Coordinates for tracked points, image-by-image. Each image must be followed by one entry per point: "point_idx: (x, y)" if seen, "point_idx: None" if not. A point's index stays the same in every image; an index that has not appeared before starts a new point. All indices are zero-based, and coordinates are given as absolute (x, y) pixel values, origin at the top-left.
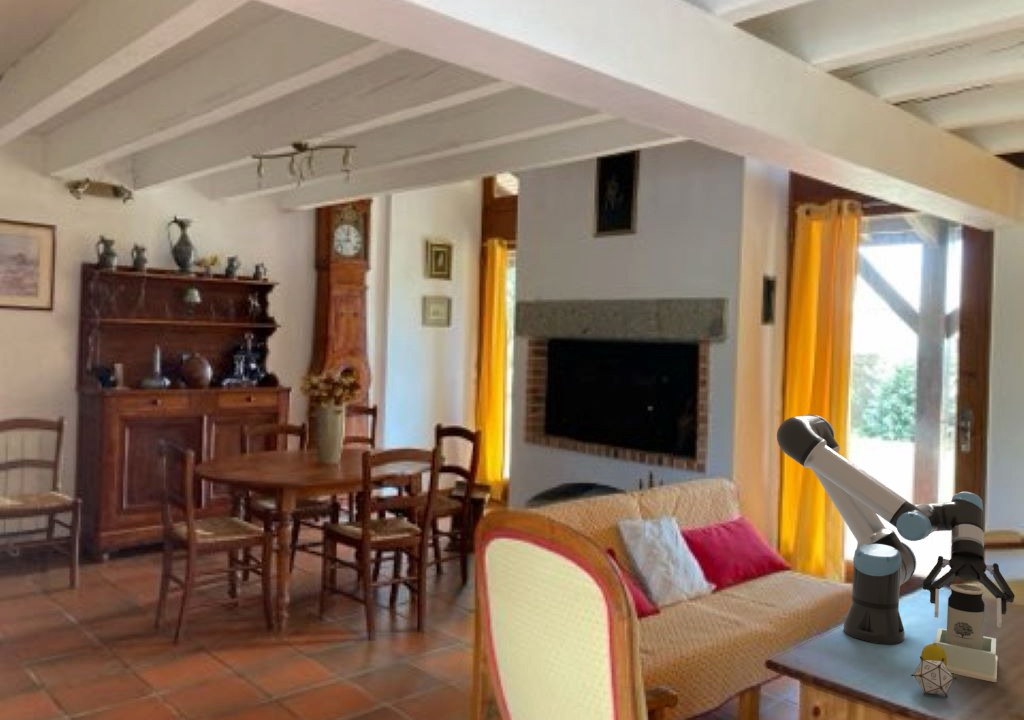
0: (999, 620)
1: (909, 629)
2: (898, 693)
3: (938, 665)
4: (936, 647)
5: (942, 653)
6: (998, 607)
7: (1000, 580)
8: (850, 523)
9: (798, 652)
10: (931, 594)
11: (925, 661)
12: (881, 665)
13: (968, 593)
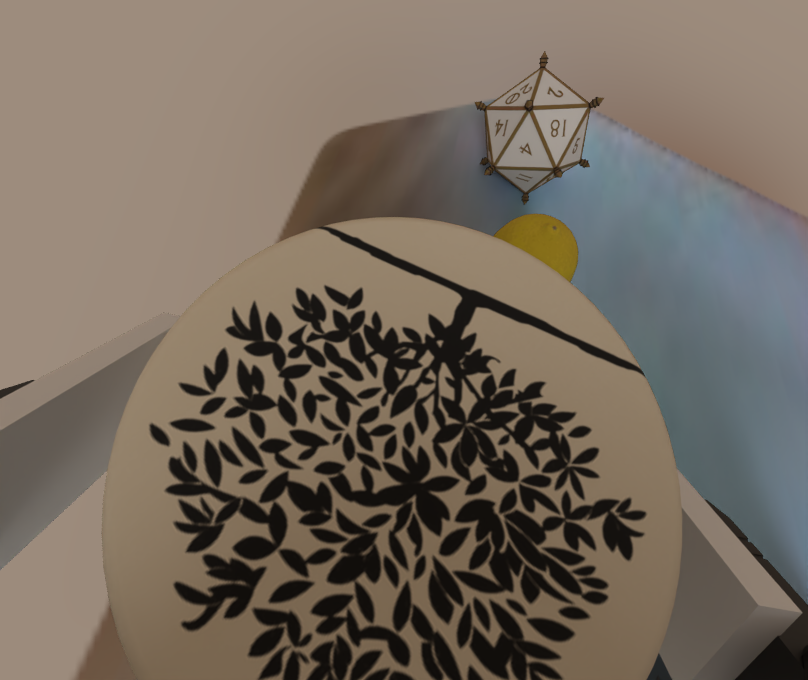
0: (171, 320)
1: None
2: (593, 159)
3: (547, 58)
4: (542, 217)
5: (512, 220)
6: (78, 377)
7: None
8: None
9: None
10: (760, 563)
11: (580, 97)
12: (652, 337)
13: (432, 227)
